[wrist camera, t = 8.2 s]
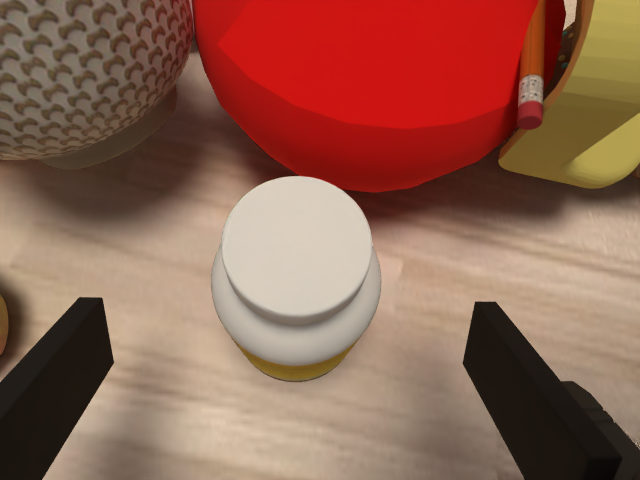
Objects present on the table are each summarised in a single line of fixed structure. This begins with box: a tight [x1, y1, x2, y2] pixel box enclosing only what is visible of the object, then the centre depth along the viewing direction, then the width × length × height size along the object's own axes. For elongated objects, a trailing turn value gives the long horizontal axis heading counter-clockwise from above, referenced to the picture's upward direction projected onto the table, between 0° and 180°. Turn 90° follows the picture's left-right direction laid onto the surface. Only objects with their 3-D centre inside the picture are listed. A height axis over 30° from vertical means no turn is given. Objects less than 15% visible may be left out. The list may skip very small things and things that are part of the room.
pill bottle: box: [211, 176, 381, 382], centre depth 18 cm, size 6×6×12 cm
